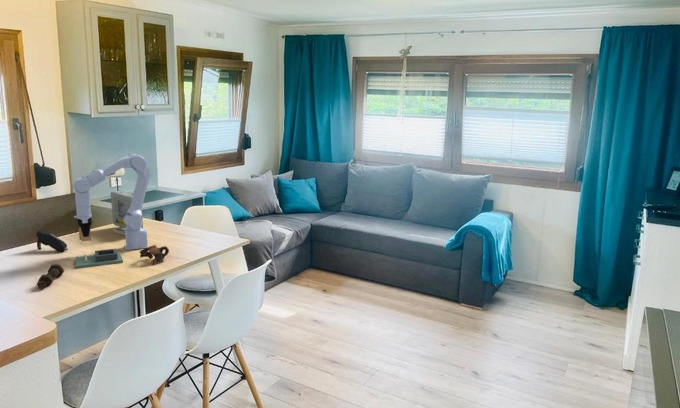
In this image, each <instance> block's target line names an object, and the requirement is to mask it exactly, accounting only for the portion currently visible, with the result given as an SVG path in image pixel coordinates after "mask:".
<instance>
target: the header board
mask: <svg viewBox="0 0 680 408" xmlns="http://www.w3.org/2000/svg"><path fill="white" fill-rule="evenodd" d="M120 263H121V264H122V263H124V260H123V257H122V253H121V252H120V251H117V249H116V248H110V249H109V248H107V249H101V250H94V254H93V255H87V254H84V255H83V256H76V257H75V269H81V268H89V267H90V268H91V267H100V266H105V265H106V266H107V265H114V264H120Z"/></svg>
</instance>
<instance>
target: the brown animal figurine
mask: <svg viewBox="0 0 680 408" xmlns="http://www.w3.org/2000/svg"><path fill="white" fill-rule="evenodd" d="M164 250H165V251H164ZM163 251H164V253H163ZM169 253H170V250H169V248H168V247H167V246H165V245H164V246H160V247H157V245H156V244H154V245H151V246H148V247H147V248H142V249H141V250H140V251H139V254H140V255H139V257H140V258H141V259H142V258H147V257H148V258H149V259H150V262H151V264H152V265H153V266H155V265H157V264H159V263H163V262H164V259H165V257H167V255H168V254H169Z"/></svg>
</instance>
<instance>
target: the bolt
mask: <svg viewBox="0 0 680 408" xmlns="http://www.w3.org/2000/svg"><path fill="white" fill-rule="evenodd" d="M63 267H64V266H62V265H61V264H58V263H53V264H51V265H50V266H49V268H48V270H47V273H46V274H42V275H40V277H39V279H38V281H37V283H36V286H37V288H38V289H45V288H46V287H50V286H51V285H52V284H53V282H54V280H55V278H61V277H62V276H63V274H64V272H65V269H64V268H63Z"/></svg>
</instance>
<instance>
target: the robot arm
mask: <svg viewBox="0 0 680 408" xmlns="http://www.w3.org/2000/svg"><path fill="white" fill-rule="evenodd" d="M123 168H125V169H133V170H134V172H135V174H137V178H136V182H135V186H134V190H133V193H132V195H133V197H132V201H131V205H130V208H129V209H128V211H127V214H126V215H125V216H124V218H123V222H124V224H125V225H126V227H125V229H124V230H125V235H124V236H125V237H124V238H125V244H124V248H125V250H127V251H129V250H139V249H145V248H147V247H149V246H148V233H147V228H146V227H143V228H141V226H142V221H143V205H144V201H145V197H146V193H147V190H148V189H147V188H148V185H149V182H150V181H149V180H150V177H151V172H150V168H149V165H148V161H147V160H146V158H144V157H143V156H142V155H140V154H137V153H129V154H128V155H125V156H123V157H121V158H119V159H118V160H116V161H114V162H113V163H111V164H109V165H108V166H106V167H104V168H103V169H99V168H97V169H95V168H93V169H92V170H91V172H89V173H87V174H85V175H82V176H81V177H78V178H76V179H74V181H73V183H72V188H73V189H74V194H75V196H74V197H75V199H74V200H75V211H76V215H73V218H74V219H77V224H78V226H79V228H81V230H82V234H83V236H84V237H89V232H90V231H91V226H92V224H93V221H92V217H93V215H92V207H91V206H92V205H91V197H90V190H91V188H93V187H95V186H96V185H97V186H98V185H99V184H100V183H102V182H104V181H106V177H107V176H109V175H111V174H113V173H115V172H118V171H119V170H121V169H123ZM141 210H142V212H141ZM141 218H142V220H141Z"/></svg>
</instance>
